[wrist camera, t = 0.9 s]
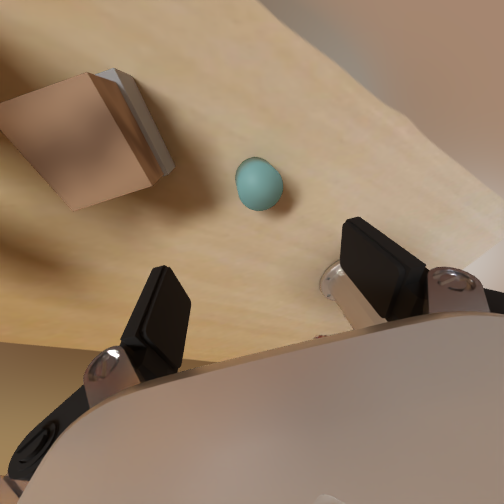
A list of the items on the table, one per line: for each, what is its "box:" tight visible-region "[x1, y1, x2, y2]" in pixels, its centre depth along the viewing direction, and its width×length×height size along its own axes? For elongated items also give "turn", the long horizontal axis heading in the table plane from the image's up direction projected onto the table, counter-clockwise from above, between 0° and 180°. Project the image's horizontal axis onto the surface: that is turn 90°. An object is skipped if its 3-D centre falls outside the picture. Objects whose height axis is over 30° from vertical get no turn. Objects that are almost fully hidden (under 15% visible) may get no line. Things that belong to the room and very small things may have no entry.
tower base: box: [95, 68, 176, 176], centre depth 21 cm, size 9×9×4 cm
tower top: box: [0, 72, 164, 211], centre depth 17 cm, size 8×8×4 cm
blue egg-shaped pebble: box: [235, 157, 283, 211], centre depth 25 cm, size 6×6×5 cm
